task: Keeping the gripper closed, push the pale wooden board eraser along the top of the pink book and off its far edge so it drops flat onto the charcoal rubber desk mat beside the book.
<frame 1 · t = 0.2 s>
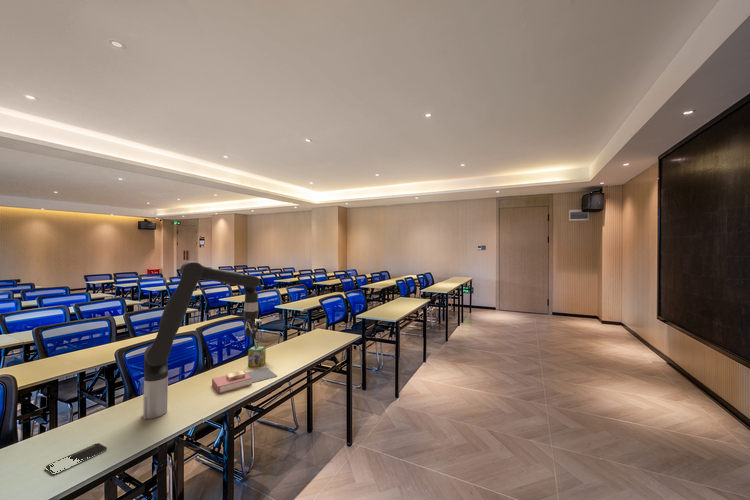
hand: (250, 337, 172), 28 cm above the table, tool pointing down, fingers open, 8 cm apart
desk mat: (259, 375, 188), on the table
board eraser: (235, 377, 175), point 4 cm above the table, touching book deck
book deck: (231, 385, 173), on the table
phone: (77, 460, 110), on the table
chalk box: (256, 364, 207), on the table
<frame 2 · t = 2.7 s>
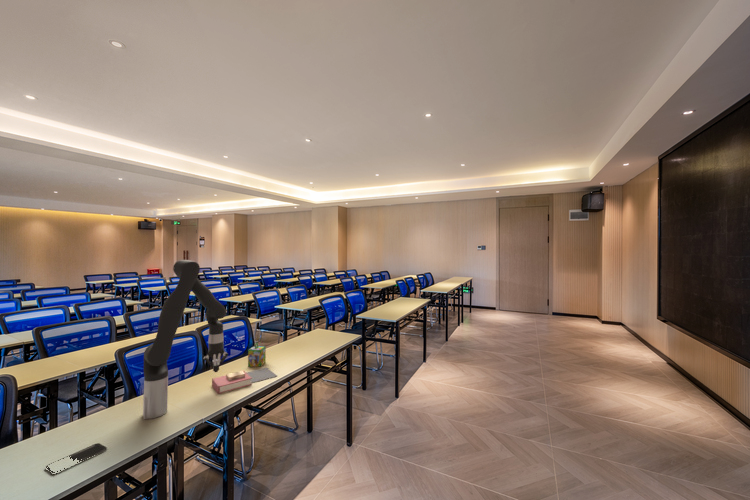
hand: (216, 371, 168), 10 cm above the table, tool pointing down, fingers closed
nothing on the table moved.
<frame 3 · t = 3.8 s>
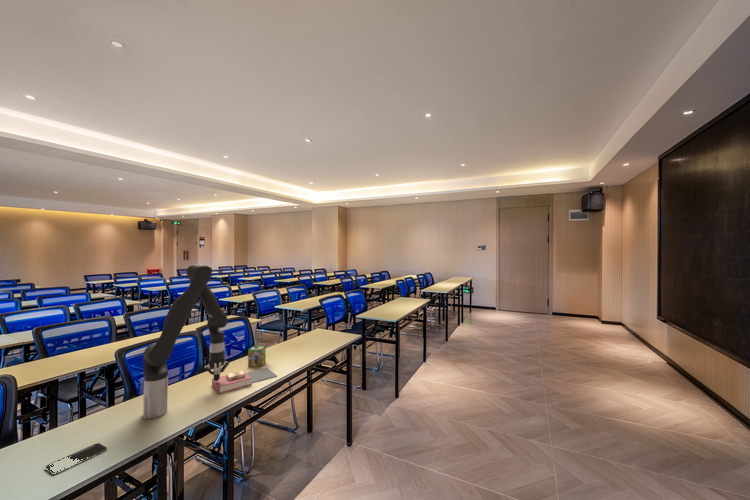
hand: (216, 380, 168), 5 cm above the table, tool pointing down, fingers closed
nothing on the table moved.
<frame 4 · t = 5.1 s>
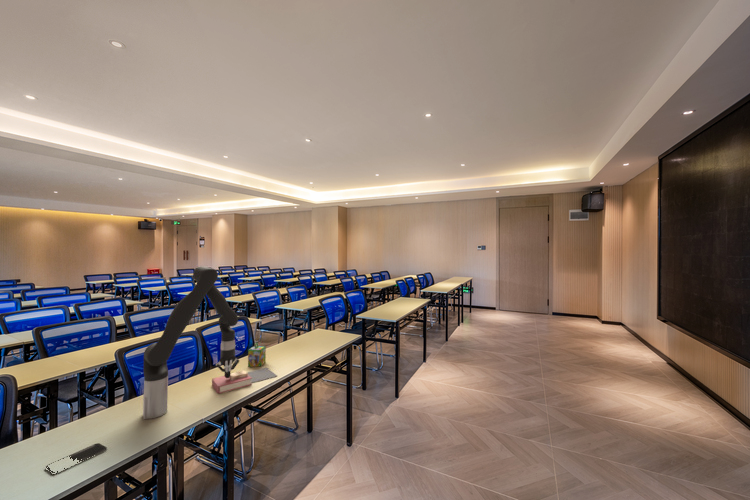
hand: (227, 377, 172), 5 cm above the table, tool pointing down, fingers closed
board eraser: (238, 376, 176), point 4 cm above the table, touching book deck, gripper
everything else where it was.
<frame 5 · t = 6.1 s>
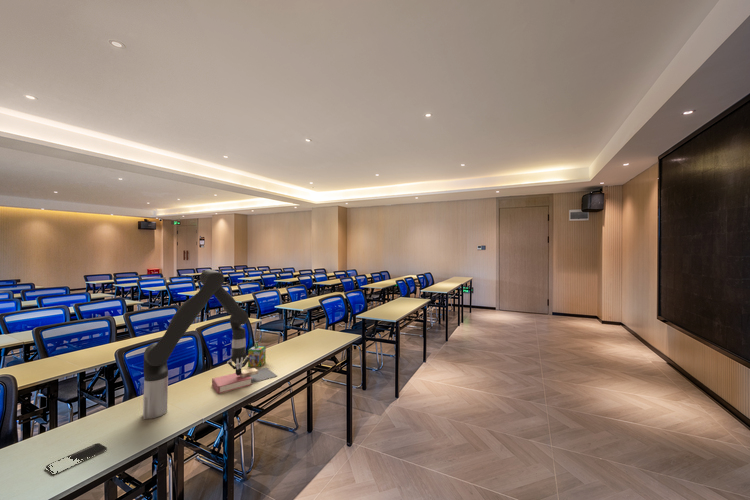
hand: (238, 374, 176), 5 cm above the table, tool pointing down, fingers closed
board eraser: (248, 374, 180), point 4 cm above the table, touching gripper
everything else where it was.
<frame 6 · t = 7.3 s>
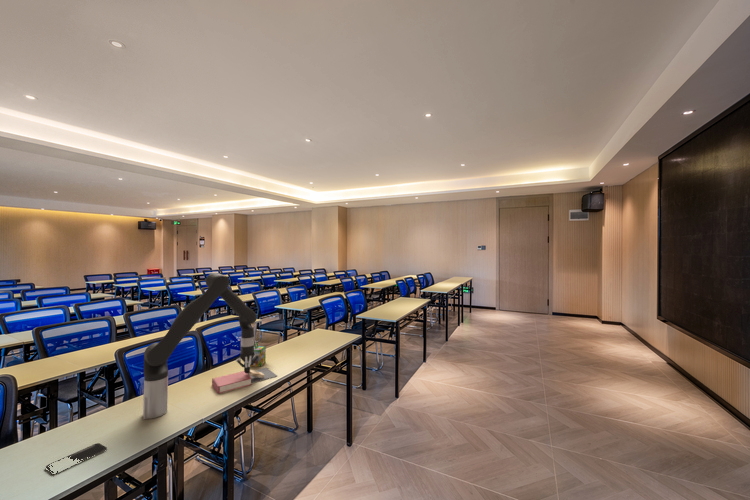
hand: (247, 373, 179), 5 cm above the table, tool pointing down, fingers closed
board eraser: (255, 375, 182), point 2 cm above the table, tilted 23°, touching book deck, desk mat, gripper
everything else where it was.
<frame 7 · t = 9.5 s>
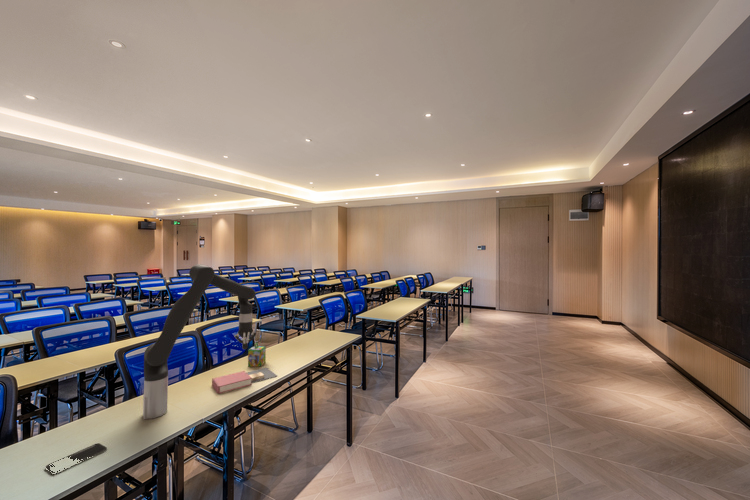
hand: (244, 349, 179), 19 cm above the table, tool pointing down, fingers closed
board eraser: (255, 378, 182), resting on desk mat, touching book deck
everything else where it was.
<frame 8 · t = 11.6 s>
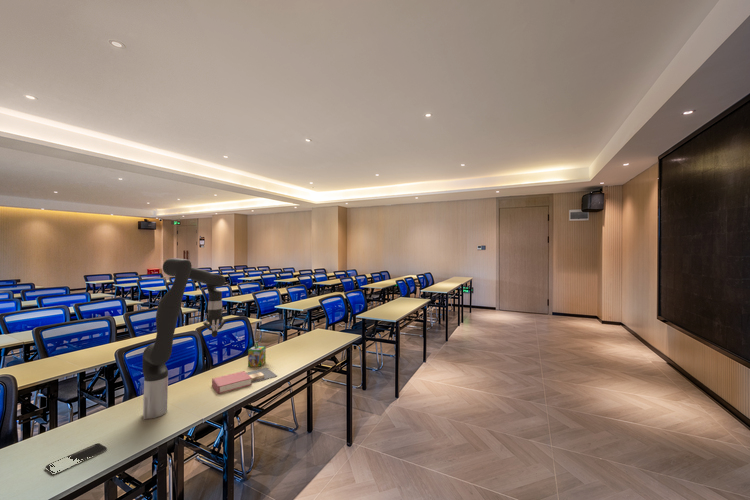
hand: (214, 336, 178), 27 cm above the table, tool pointing down, fingers closed
nothing on the table moved.
at the end: board eraser inside the target area (6.2 cm from its centre), resting on desk mat; board eraser tilted 0° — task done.
